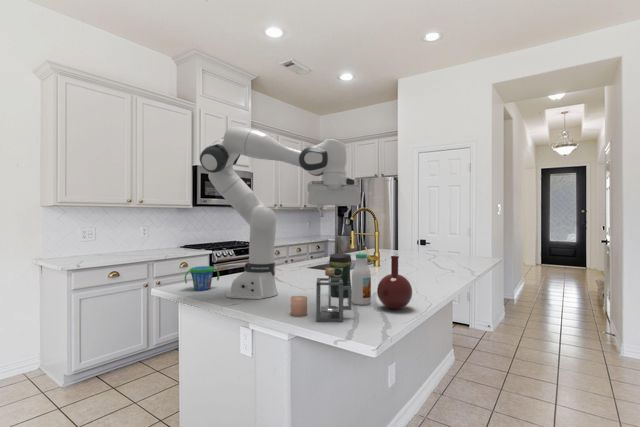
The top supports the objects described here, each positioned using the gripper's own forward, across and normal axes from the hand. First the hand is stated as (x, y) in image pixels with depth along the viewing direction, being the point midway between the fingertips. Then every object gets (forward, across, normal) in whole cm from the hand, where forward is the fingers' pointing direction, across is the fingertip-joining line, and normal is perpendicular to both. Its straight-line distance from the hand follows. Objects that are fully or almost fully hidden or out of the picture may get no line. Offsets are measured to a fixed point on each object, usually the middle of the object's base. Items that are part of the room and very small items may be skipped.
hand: (333, 217), depth 139 cm
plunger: (+32, -1, -14) cm, 35 cm away
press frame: (+35, +1, -14) cm, 37 cm away
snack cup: (+36, -61, +30) cm, 77 cm away
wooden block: (+35, -12, -10) cm, 38 cm away
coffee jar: (+35, +4, +20) cm, 41 cm away
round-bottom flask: (+35, +24, 0) cm, 42 cm away
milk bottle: (+35, +12, +8) cm, 38 cm away
